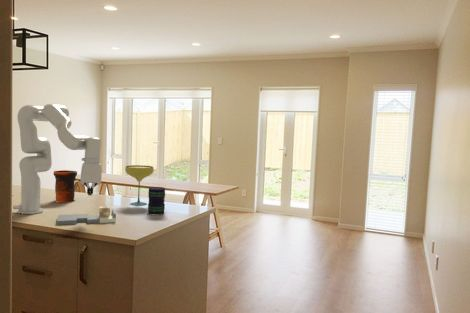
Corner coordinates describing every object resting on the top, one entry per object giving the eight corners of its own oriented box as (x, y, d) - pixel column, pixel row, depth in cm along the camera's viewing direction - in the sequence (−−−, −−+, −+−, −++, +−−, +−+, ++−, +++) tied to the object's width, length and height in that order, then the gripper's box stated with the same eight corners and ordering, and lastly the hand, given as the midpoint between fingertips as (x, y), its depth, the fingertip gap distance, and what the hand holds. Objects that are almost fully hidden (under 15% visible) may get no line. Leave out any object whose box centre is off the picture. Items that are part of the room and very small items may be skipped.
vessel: (49, 199, 251) (50, 169, 250) (71, 198, 260) (72, 169, 259) (56, 203, 240) (57, 172, 239) (79, 202, 250) (80, 172, 249)
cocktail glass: (148, 201, 263) (149, 165, 261) (155, 206, 247) (156, 167, 245) (121, 202, 254) (123, 165, 253) (127, 207, 238) (128, 167, 237)
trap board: (57, 224, 188) (57, 216, 188) (58, 218, 201) (58, 210, 201) (115, 222, 199) (116, 213, 199) (113, 216, 212) (113, 208, 212)
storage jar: (144, 213, 223) (145, 188, 223) (153, 210, 233) (154, 186, 232) (158, 215, 220) (159, 189, 219) (167, 212, 229) (168, 187, 228)
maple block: (99, 217, 199) (99, 208, 199) (100, 215, 204) (100, 206, 204) (108, 217, 200) (109, 208, 200) (109, 215, 205) (110, 206, 205)
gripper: (76, 160, 192) (74, 196, 194) (107, 162, 198) (105, 196, 200) (76, 159, 199) (74, 193, 201) (106, 160, 205) (104, 194, 207)
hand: (89, 195), depth 200 cm, fingers closed
